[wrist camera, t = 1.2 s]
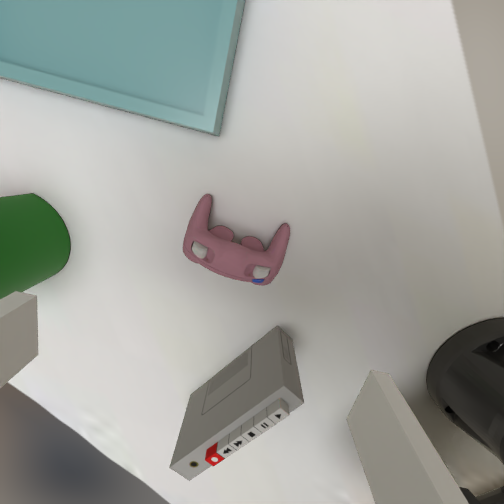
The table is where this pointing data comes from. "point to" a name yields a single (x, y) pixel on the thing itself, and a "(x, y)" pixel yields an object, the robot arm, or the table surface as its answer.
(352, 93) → the table surface
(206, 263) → the video game controller
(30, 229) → the motor
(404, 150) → the table surface
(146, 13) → the tray
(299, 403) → the cassette player
